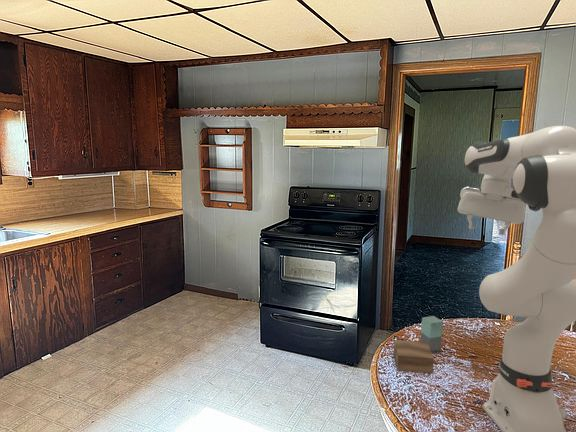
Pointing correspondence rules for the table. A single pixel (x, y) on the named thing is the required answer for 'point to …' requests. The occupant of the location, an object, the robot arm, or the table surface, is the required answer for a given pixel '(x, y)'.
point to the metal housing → (432, 332)
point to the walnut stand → (413, 356)
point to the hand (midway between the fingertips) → (486, 231)
